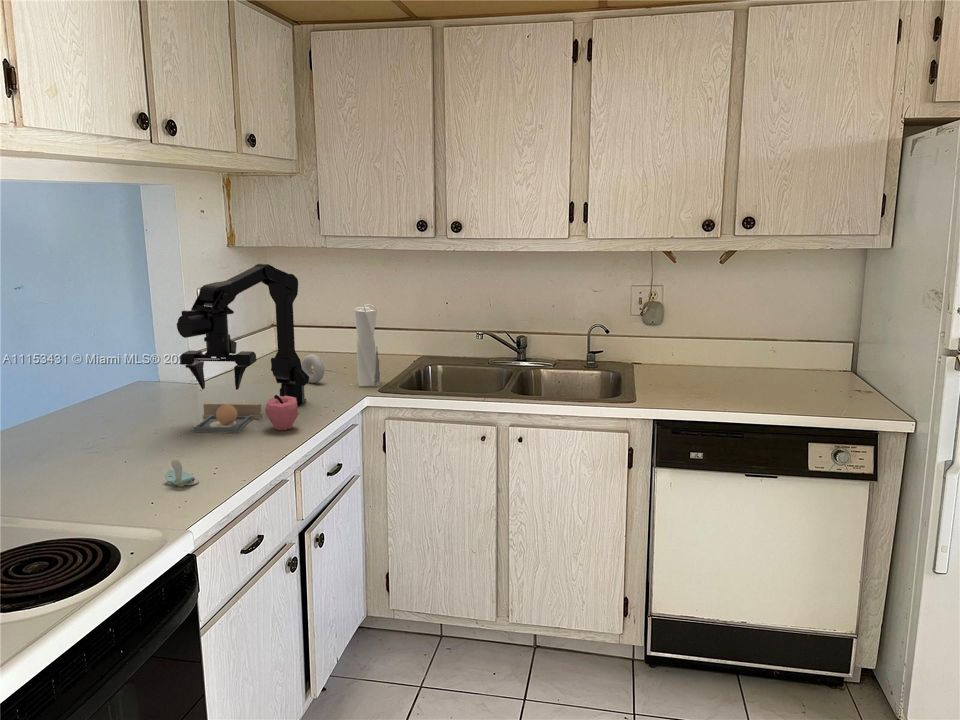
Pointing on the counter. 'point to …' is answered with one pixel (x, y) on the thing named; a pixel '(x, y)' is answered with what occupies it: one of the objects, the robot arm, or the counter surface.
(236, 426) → the mat
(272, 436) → the counter surface
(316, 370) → the donut
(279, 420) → the apple
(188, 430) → the counter surface
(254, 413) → the tan rectangular bar
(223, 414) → the ball
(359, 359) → the skyscraper
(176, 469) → the pacifier
